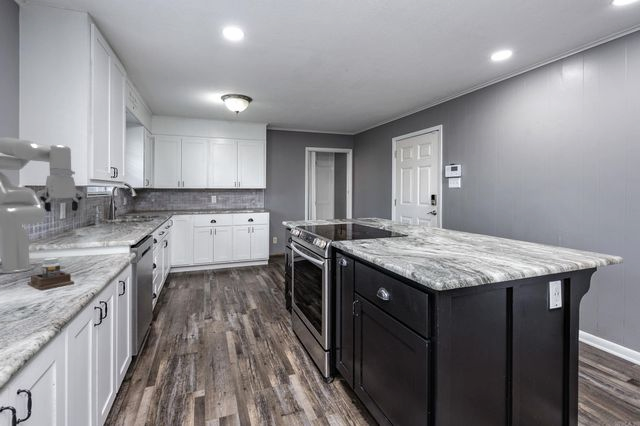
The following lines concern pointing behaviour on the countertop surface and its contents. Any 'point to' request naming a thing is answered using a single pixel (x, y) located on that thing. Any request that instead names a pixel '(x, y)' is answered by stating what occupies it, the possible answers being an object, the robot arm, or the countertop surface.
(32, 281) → the socket board
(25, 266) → the robot arm
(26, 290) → the countertop surface
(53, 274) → the pill bottle
